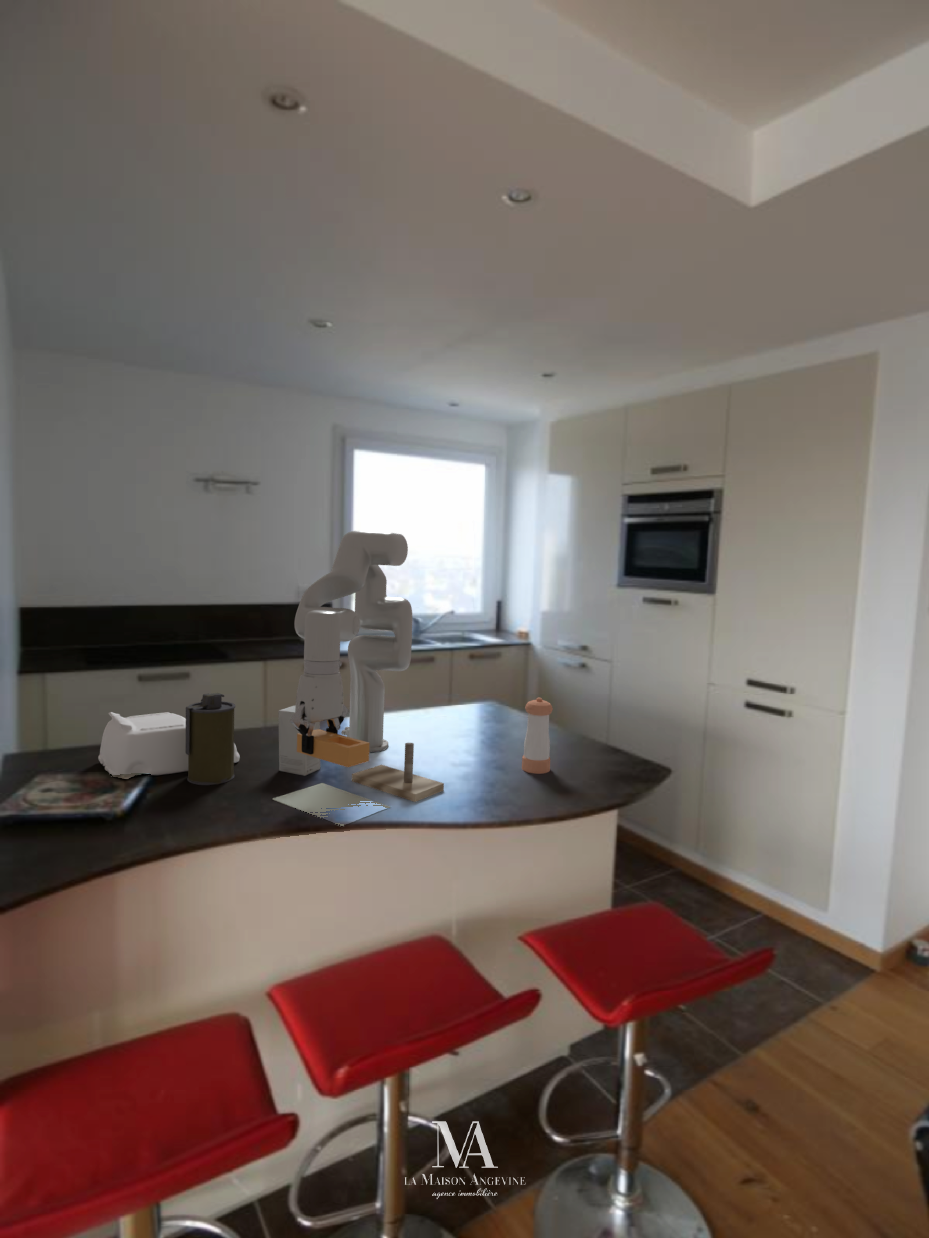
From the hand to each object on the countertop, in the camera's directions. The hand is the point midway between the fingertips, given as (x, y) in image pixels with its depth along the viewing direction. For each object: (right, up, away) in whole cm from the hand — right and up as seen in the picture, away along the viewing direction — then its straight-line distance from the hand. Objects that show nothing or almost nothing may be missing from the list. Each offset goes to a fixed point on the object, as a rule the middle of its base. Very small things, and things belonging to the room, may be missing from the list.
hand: (319, 749), depth 145 cm
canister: (-28, -9, +12) cm, 32 cm away
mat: (+3, -12, -1) cm, 12 cm away
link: (+3, -1, -2) cm, 4 cm away
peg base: (+16, -11, +12) cm, 22 cm away
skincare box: (-10, -9, +21) cm, 24 cm away
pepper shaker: (+50, -11, +28) cm, 59 cm away
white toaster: (-42, -8, +22) cm, 48 cm away
